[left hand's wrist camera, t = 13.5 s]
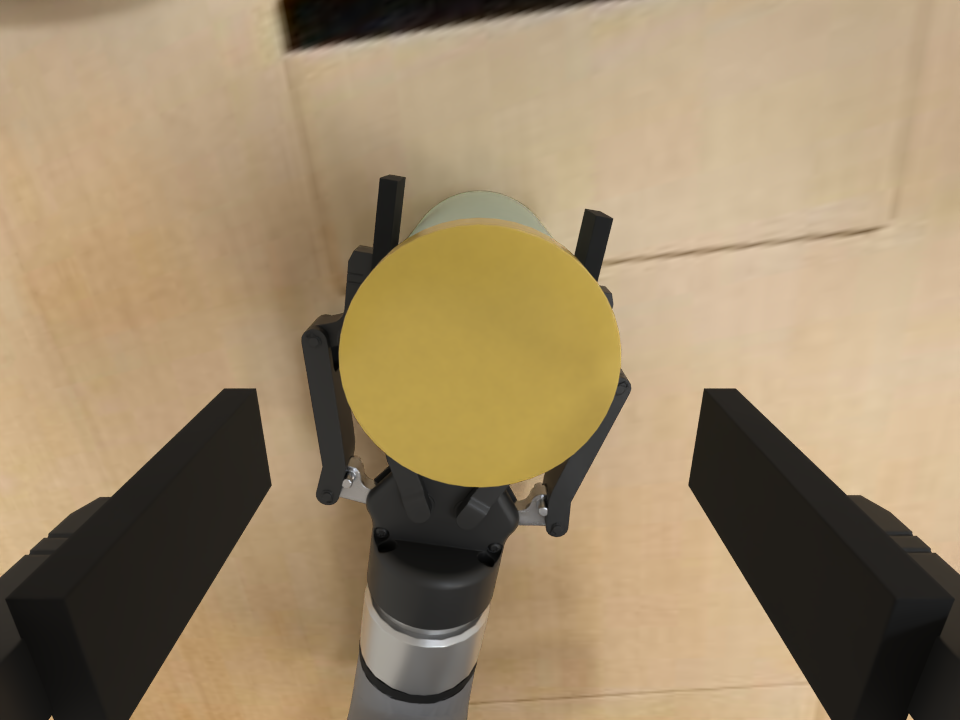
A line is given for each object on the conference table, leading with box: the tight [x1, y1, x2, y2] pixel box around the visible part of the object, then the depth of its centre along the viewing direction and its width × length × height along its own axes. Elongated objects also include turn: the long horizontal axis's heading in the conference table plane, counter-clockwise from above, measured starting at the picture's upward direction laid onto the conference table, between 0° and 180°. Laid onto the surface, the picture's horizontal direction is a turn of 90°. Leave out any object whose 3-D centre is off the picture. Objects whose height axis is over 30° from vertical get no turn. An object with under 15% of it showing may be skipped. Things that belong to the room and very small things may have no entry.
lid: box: [339, 218, 621, 487], centre depth 19 cm, size 9×9×2 cm
